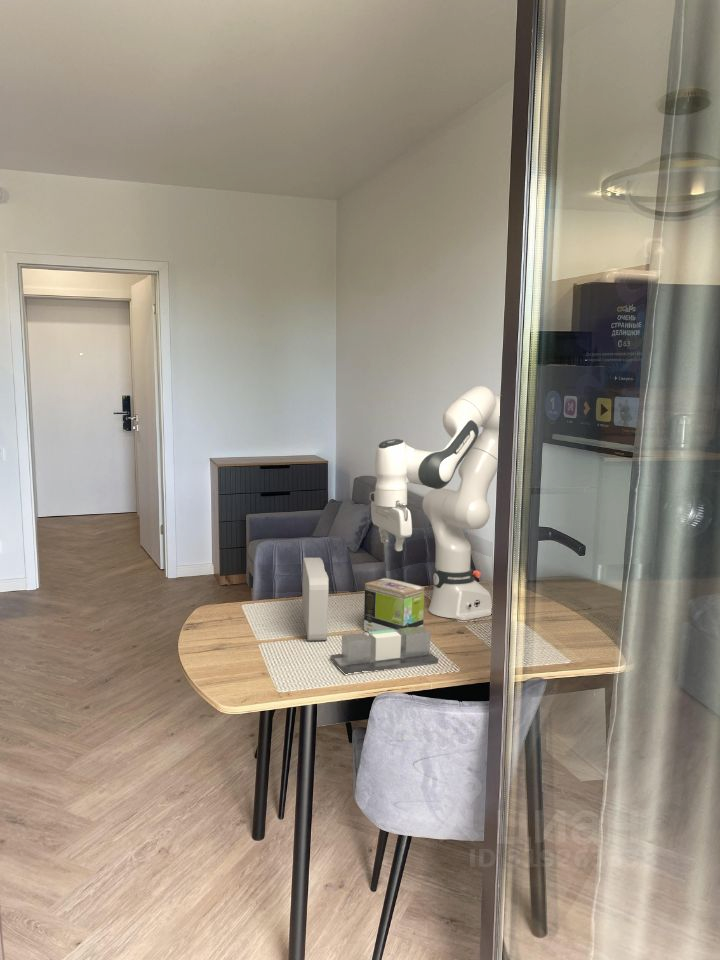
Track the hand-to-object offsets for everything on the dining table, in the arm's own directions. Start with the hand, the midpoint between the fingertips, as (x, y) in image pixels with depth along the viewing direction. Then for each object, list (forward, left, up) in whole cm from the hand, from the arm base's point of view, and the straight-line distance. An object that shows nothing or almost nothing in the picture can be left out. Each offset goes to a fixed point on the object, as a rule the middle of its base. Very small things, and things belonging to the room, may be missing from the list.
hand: (391, 546), depth 207 cm
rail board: (+8, +16, -27) cm, 32 cm away
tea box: (-3, -3, -27) cm, 27 cm away
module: (+8, +16, -25) cm, 31 cm away
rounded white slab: (+17, -16, -27) cm, 36 cm away
